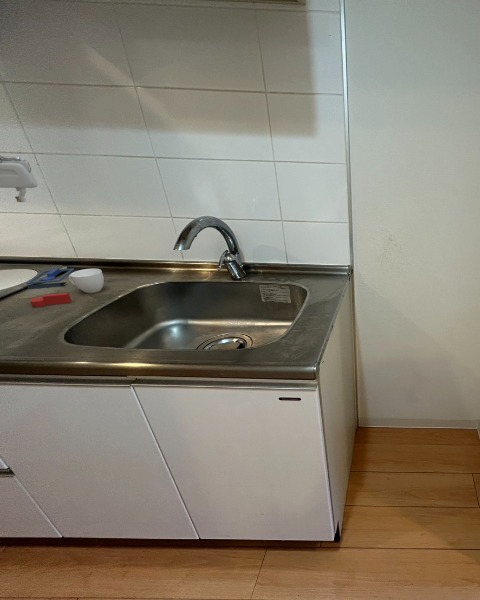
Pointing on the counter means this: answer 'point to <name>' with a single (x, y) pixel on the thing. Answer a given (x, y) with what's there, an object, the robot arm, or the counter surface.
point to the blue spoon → (51, 274)
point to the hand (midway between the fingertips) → (1, 201)
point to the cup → (88, 280)
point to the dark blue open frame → (48, 280)
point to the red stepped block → (51, 299)
